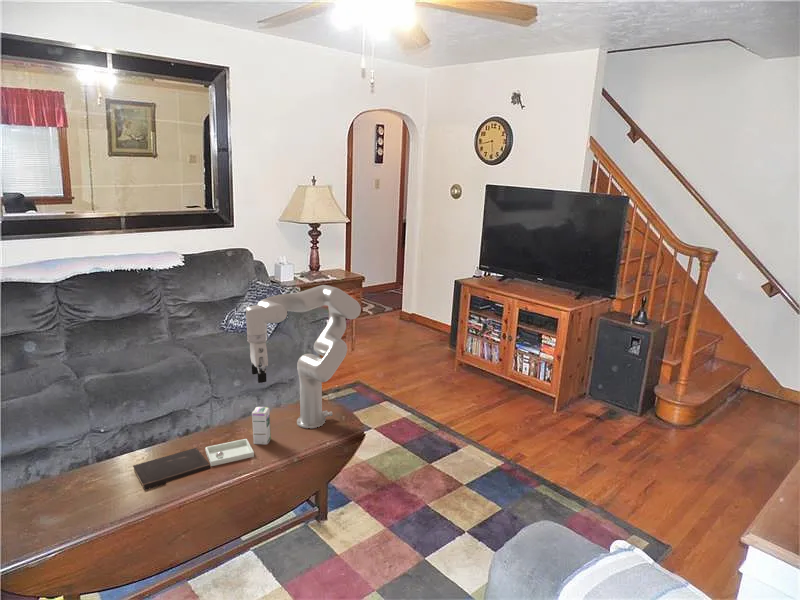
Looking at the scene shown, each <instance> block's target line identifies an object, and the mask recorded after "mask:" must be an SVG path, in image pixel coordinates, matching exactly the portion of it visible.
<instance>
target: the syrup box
mask: <svg viewBox="0 0 800 600" xmlns="http://www.w3.org/2000/svg"><path fill="white" fill-rule="evenodd" d="M270 412H271V411H270V407H269V406H256V407H255V408H254V409H253V410H252V412H251V420H252V423H251V424H252V439H253V445H268V444H269V443H270V441H271V439H272V436H271V435H272V434H271V416H270Z"/></svg>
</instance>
